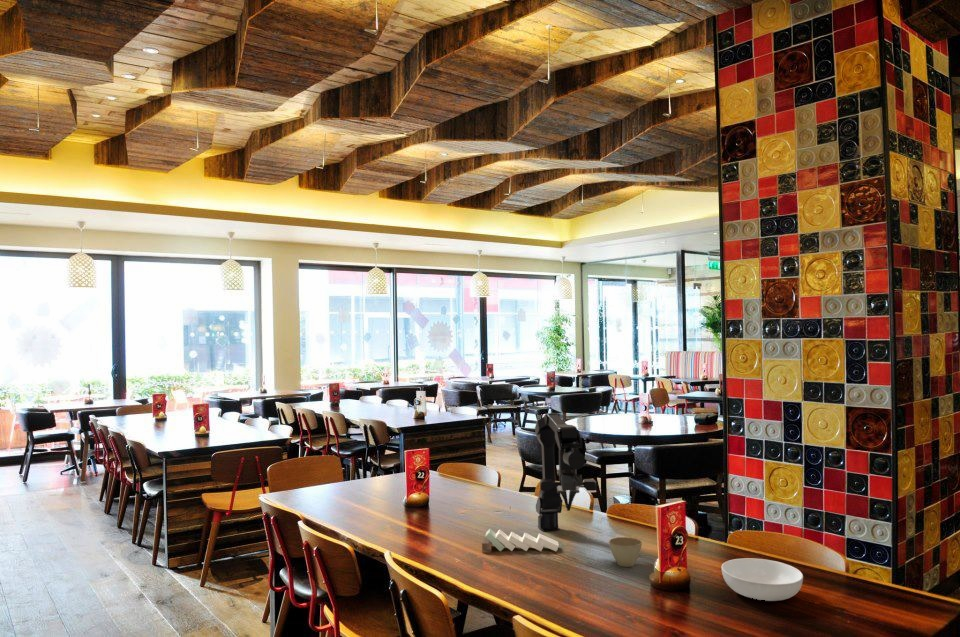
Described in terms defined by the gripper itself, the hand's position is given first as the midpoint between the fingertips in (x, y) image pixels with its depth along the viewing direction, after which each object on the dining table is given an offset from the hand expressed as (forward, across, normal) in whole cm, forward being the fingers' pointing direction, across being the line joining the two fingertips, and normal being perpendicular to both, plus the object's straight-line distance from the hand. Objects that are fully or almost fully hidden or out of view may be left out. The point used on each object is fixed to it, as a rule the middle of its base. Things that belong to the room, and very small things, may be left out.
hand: (568, 510), depth 238 cm
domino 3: (+12, -9, 0) cm, 15 cm away
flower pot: (+13, +17, -15) cm, 26 cm away
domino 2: (+12, -14, 0) cm, 18 cm away
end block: (+13, -28, 0) cm, 30 cm away
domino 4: (+12, -4, 0) cm, 13 cm away
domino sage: (+12, -22, 0) cm, 25 cm away
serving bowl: (+13, +50, -40) cm, 66 cm away
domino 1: (+12, -19, 0) cm, 22 cm away
